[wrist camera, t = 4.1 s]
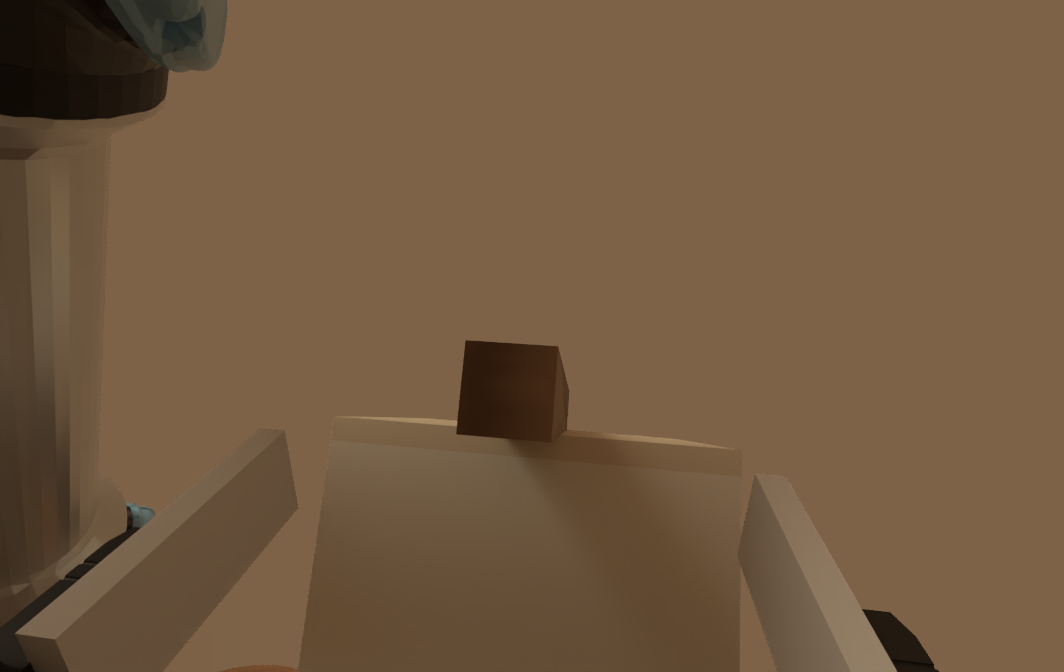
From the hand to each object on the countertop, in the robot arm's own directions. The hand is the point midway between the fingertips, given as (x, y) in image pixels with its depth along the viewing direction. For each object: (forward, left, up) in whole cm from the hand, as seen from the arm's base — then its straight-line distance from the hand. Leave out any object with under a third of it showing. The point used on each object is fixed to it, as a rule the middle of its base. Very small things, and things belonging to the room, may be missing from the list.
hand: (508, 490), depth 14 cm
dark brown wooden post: (0, +13, +1) cm, 13 cm away
